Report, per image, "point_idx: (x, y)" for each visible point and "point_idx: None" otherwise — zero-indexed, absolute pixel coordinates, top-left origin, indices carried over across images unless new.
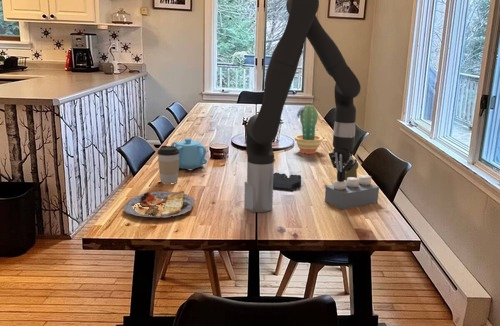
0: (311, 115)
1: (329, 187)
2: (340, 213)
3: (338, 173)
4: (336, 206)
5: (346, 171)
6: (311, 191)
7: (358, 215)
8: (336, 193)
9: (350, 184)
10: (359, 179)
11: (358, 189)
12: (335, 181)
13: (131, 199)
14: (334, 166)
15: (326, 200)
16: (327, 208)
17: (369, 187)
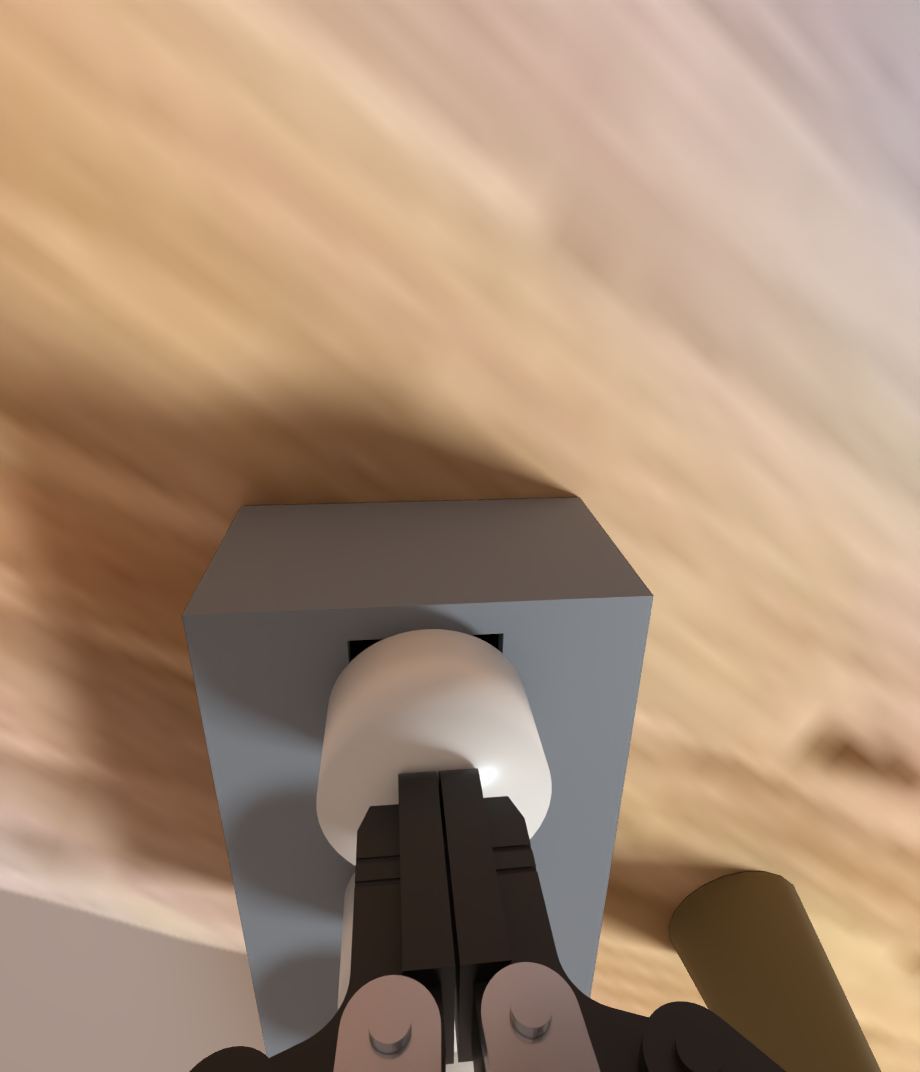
0: None
1: (563, 603)
2: (140, 405)
3: (466, 912)
4: (358, 505)
5: (857, 1062)
6: (904, 558)
7: (13, 557)
8: (373, 584)
9: None
10: None
11: (290, 883)
12: (461, 716)
13: None
14: (677, 1058)
15: (552, 504)
16: (362, 368)
17: (304, 1008)
